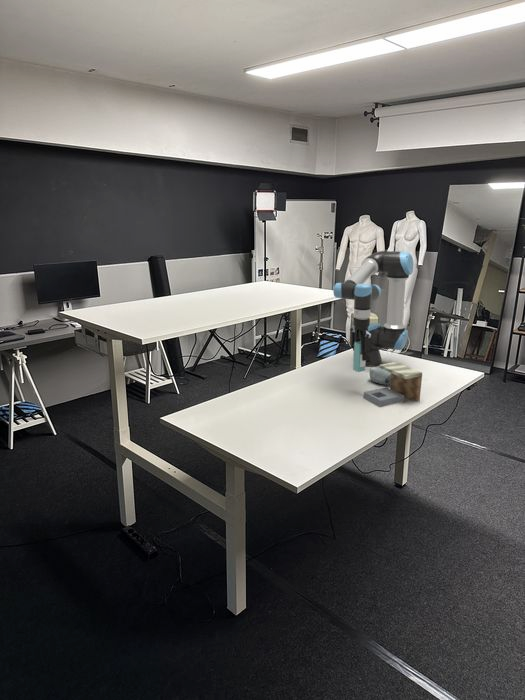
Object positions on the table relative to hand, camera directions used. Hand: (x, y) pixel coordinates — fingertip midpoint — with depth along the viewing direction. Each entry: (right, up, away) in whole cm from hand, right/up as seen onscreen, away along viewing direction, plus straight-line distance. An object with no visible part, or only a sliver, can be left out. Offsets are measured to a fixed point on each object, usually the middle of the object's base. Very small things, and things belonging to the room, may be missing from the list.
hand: (359, 364), depth 227 cm
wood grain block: (+19, -15, 0) cm, 24 cm away
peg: (0, -3, +1) cm, 3 cm away
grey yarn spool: (+15, -10, +18) cm, 25 cm away
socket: (+11, -16, -4) cm, 20 cm away
